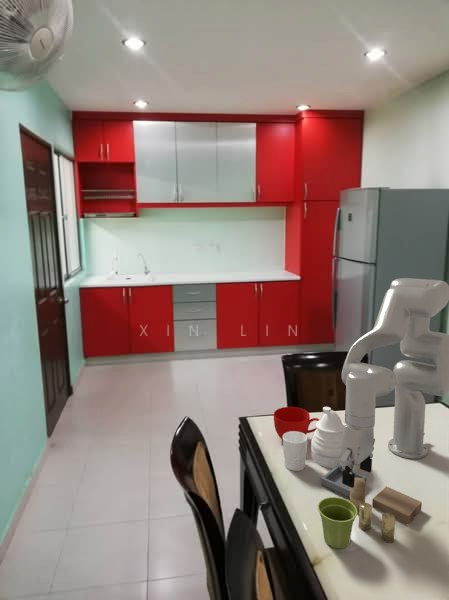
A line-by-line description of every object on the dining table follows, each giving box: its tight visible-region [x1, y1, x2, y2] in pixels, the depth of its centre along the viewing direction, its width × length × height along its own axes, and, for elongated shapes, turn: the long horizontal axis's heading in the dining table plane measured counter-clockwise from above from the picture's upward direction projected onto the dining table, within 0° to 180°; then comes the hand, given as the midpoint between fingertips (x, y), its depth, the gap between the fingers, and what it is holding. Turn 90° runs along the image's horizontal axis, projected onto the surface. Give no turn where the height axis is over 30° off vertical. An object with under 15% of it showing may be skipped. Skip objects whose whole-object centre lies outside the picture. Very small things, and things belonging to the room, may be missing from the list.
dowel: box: [349, 478, 367, 514], centre depth 116 cm, size 4×4×8 cm
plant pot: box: [317, 496, 358, 549], centre depth 104 cm, size 9×9×9 cm
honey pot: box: [310, 406, 351, 469], centre depth 141 cm, size 13×13×18 cm
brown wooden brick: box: [371, 486, 423, 526], centre depth 116 cm, size 8×10×3 cm
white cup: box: [282, 431, 308, 472], centre depth 137 cm, size 8×8×10 cm
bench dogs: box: [358, 501, 396, 544], centre depth 107 cm, size 3×9×6 cm, turn 45°
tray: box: [320, 465, 367, 500], centre depth 127 cm, size 10×10×2 cm
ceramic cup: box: [273, 406, 320, 441], centre depth 153 cm, size 13×17×10 cm
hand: (357, 477), depth 114 cm, fingers open, 9 cm apart
